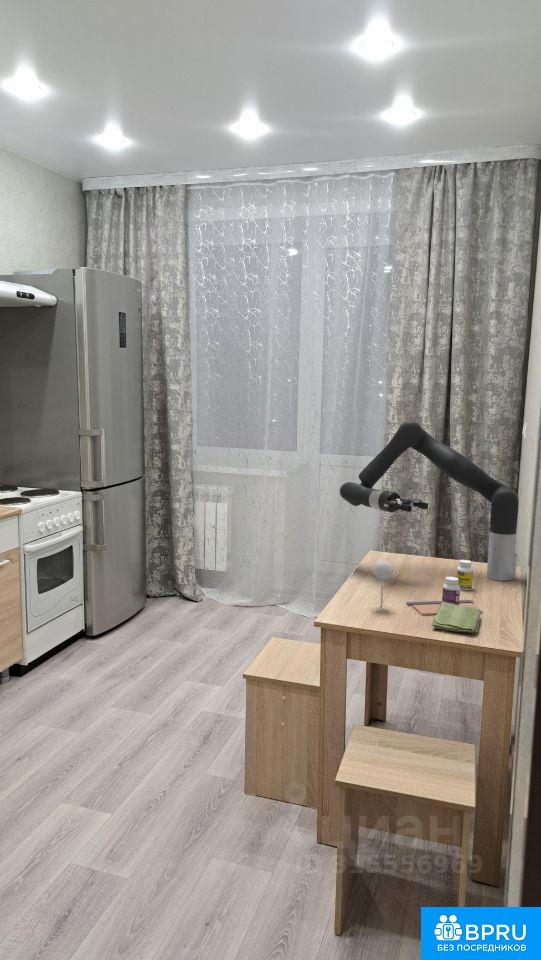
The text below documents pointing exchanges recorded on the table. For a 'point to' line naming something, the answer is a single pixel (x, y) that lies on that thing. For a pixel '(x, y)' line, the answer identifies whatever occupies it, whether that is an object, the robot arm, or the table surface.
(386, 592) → the table surface
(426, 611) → the mat
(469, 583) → the supplement bottle
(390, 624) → the table surface
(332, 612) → the table surface
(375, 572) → the lollipop
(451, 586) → the pill bottle
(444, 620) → the washcloth
